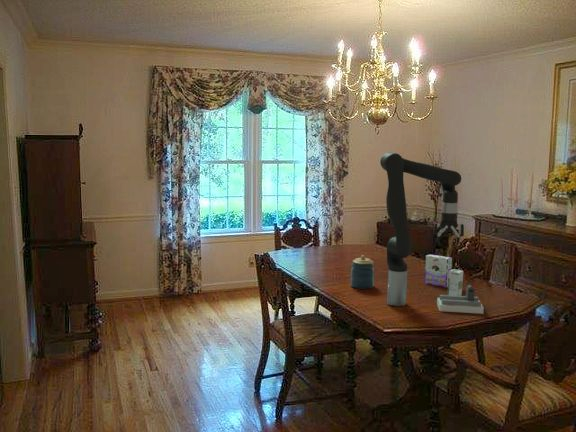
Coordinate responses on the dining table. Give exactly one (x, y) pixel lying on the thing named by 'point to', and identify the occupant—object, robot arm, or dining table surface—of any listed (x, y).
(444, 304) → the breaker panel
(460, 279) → the syrup box
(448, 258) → the candy box
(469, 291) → the breaker lever
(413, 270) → the dining table surface
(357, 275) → the canister
